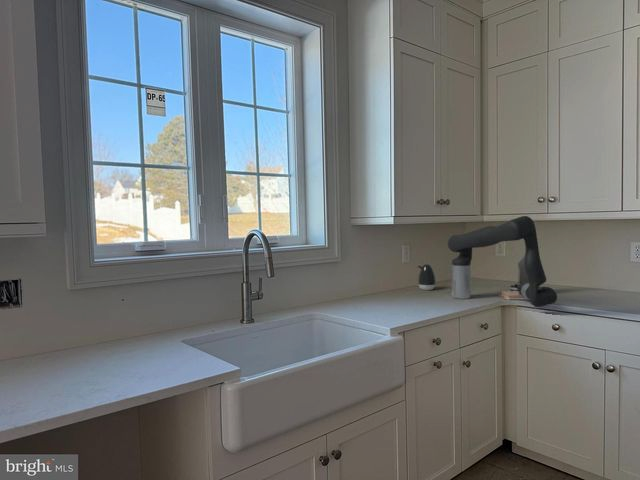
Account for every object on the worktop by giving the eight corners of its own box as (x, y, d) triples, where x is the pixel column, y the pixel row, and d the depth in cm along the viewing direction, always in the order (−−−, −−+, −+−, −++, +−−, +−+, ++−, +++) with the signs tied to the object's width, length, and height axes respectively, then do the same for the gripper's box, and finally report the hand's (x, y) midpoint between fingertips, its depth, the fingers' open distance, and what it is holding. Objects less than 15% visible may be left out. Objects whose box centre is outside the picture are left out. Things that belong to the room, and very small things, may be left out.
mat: (504, 299, 221) (504, 298, 221) (497, 295, 233) (497, 294, 233) (533, 299, 219) (533, 298, 219) (525, 295, 231) (525, 294, 231)
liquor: (516, 293, 238) (516, 238, 237) (524, 291, 244) (524, 238, 242) (532, 295, 231) (532, 239, 230) (541, 293, 236) (541, 238, 235)
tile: (509, 295, 220) (501, 290, 233) (509, 299, 220) (501, 294, 233) (529, 295, 218) (520, 290, 232) (529, 299, 218) (520, 294, 232)
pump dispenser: (417, 288, 263) (416, 263, 262) (434, 288, 261) (434, 263, 261) (418, 291, 253) (418, 265, 252) (436, 291, 251) (436, 264, 251)
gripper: (544, 283, 203) (531, 278, 220) (515, 283, 205) (504, 278, 222) (544, 299, 203) (531, 292, 220) (515, 299, 205) (504, 292, 222)
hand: (517, 285), depth 221 cm, fingers closed
